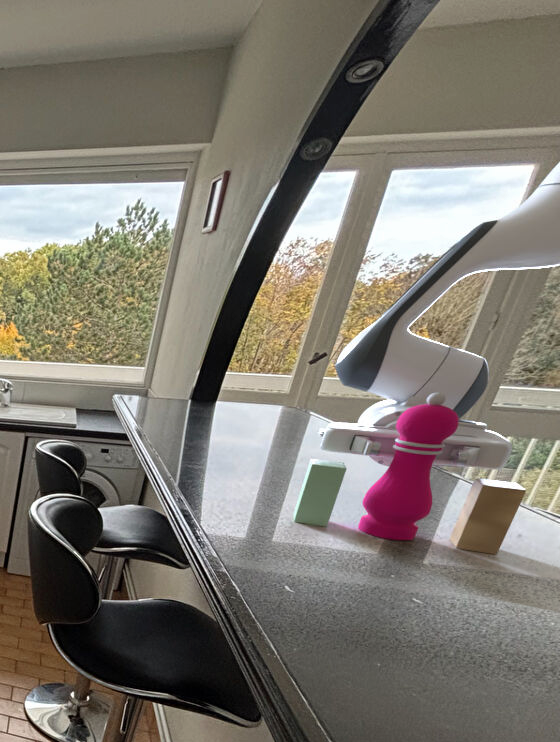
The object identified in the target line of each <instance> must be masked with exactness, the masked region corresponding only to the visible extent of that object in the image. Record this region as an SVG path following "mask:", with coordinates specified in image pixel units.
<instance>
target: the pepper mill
mask: <svg viewBox="0 0 560 742" xmlns="http://www.w3.org/2000/svg"><path fill="white" fill-rule="evenodd" d="M445 400H446V397H445V395H444V394H442V393H433V394H431V395H429V397H428V398H427V403H428V404H422V405H417V406H413V407H411V408H409V409H407V410H406V411H404V412H403V413H402V414H401V416H400V417H399V419H398V421H397V424H396V429H397V431H398V432H399V434H400V438H397V439H395V441H396V443H395V445H393V448H394V449H396V451H395V455H394V458H393V460H392V463H391V465H390V467H388V468H387V469H386V471H385V472H384V473H383V475H382V476H381V477H380V478H378V480H377V481H376V482H374V483H373V484H372V485H371V486H370V487H369V489H368V490H367V491H366V493H365V495H364V497H363V498H362V507H363V508H364V510H365V511H366V513H367V514H364V515H362V516H361V517H360V519H359V523H358V525H357V528H358V530H359V531H360V532H363V533H364V534H367V535H370V536H374V537H377V538H381V539H387V540H391V541H392V540H393V541H411V540H414V539H415V537H416V535H417V533H418V530H419V526H418V525H417V522H418V521H420V520H422V519H425V518H426V517H428V515H430V513H431V510H432V506H433V493H432V487H431V479H430V478H431V470H432V467H433V465H432V464H433V461H434V459H435V457H436V455H438V454H441V453H442V447H444V446H445V444H444V443H442V442H443V440H445V439H446V438H448V437H450V436H451V435H452V434H454V432H455V431H456V430H457V427H458V423H459V420H460V419H458V416H457V414H456V412H454V411H453V410H452V409H450V408H448V407H445V406H442V405H441V404H443V403H444V402H445Z"/></svg>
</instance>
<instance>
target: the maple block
mask: <svg viewBox="0 0 560 742" xmlns="http://www.w3.org/2000/svg"><path fill="white" fill-rule="evenodd" d="M526 493H527V489H526V488H524V487H523V486H521V485H520V484H519V483H517V482H511V481H502V480H494V479H486V478H477V477H475V478H474V480H473V482H472V485H471V487H470V489H469V492H468V494H467V497H466V499H465V500H464V504H463V506H462V508H461V510H460V512H459V515H458V518H457V520H456V522H455V524H454V527H453V529H452V531H451V534H450V537H449V541H450V543H451V544H452V545H453V547H454V548H455V549H460V550H466V551H472V552H478V553H484V554H489V555H495V556H496V555H498V553H499V551H500V548H501V547H502V545H503V543H504V540H505V538H506V536H507V534H508V532H509V529H510V527H511V525H512V522H513V520H514V518H515V516H516V514H517V512H518V510H519V507H520V506H521V504H522V501H523V499H524V497H525V494H526Z"/></svg>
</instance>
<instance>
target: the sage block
mask: <svg viewBox="0 0 560 742" xmlns="http://www.w3.org/2000/svg"><path fill="white" fill-rule="evenodd" d="M346 472H347V466H346V464H345V462H341V461H332V460H323V459H314V458H310V460H309V463H308V466H307V469H306V472H305V476H304V479H303V482H302V486H301V489H300V492H299V494H298V497H297V500H296V505H295V507H294V510H293V514H292V515H293V516H292V517H293V522H294V523H301V524H306V525H312V526H319V527H325V528H327V527H328V524H329V522H330V519H331V516H332V513H333V510H334V507H335V504H336V501H337V499H338V495H339V493H340V489H341V486H342V484H343V482H344V481H343V480H344V478H345V476H346V475H345V474H346Z"/></svg>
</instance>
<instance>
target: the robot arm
mask: <svg viewBox="0 0 560 742" xmlns="http://www.w3.org/2000/svg"><path fill="white" fill-rule="evenodd" d="M556 266H557V267H558V266H560V161H559V162H558V163H557V164H556V165H555V166H554V167H553V169H552V170H551V171H550V172H549V173H548V174H547V175H546V177H545V178H544V179H543V180H542V182H541V183H540V184H539V185H538V186H537V188H535V190H534V191H533V193H532V194H531V195H530V196H529V197H528V198H527V199H526V200H525V201H523V203H521V204H520V205H519V206H518V207H516V208H515V209H514V210H512V211H510V213H507V214H506V215H504V216H502V217H500V218H498V219H496V220H495V219H494V220H489V221H488V220H487V221H483V222H482V223H480V224H479V225H477V226H475V227H474V228H473V229H471V230H470V231H468V232H467V233H466V234H464V235H463V236H462V237H461V238H460V239H458V241H456V242H455V243H454V244H453V245H452V246H451V247H450V248H449V249H448V250H447V251H446V252H444V254H443V255H442V256H440V257H439V258H438V259H437V260H436V261H435V262H434V263H432V265H431V266H430V267H429V268H428V269H426V271H424V273H423V274H421V276H420V277H419V278H417V279H416V281H415V282H414V283H412V285H410V286H409V288H408V289H407V290H406V291H405V292H403V294H401V295H400V296H399V297H398V298H397V299H396V300H395V301H394V302H393V303H392V304H391V306H389V307H388V308H387V309H386V310H385V311H384V312H383V313H382V314H381V315H380V316H379V317H378V318H377V319H376V320H375V321H374V322H373V323H372V324H370V326H368V327H367V328H365V329H364V330H362V331H361V332H360V333H359V334H357V336H355V337H354V338H353V339H351V340H350V342H349V343H348V344H347V345H346V346H344V348H343V349H342V351H341V352H340V354H339V356H338V357H337V360H336V362H335V364H334V369H335V371H336V375H337V377H338V380H339V381H340V382H341V384H342V385H343V386H344V387H348V388H351V389H355V390H358V391H362V392H368V393H371V394H374V395H376V396H379V397H382V398H384V399H386V400H382V401H378V402H376V403H374V404H372V405H371V406H369V407H367V408H366V409H365V410H364V411H363V412H362V414H361V415H360V416H359V418H358V420H357V423H349V422H331V423H329V424H327V426H325V428H319V429H318V431H317V435H318V436H319V437H322V439H321V442H320V445H319V449H320V450H322V451H325V452H330V453H331V452H332V453H340V454H349V455H356V456H357V455H358V456H366V457H369V458H370V459H371V460H372V461H374V462H375V463H377V464H379V465H381V466H385V467H388V468H389V467H390V465H391V463H392V460H393V458H394V455H395V451H396V449H394V448H393V445H395V443H396V441H395V439H397V438H400V434H399V432H398V431H397V429H396V424H397V421H398V419H399V417H400V416H401V414H402V413H403V412H404V411H406V410H407V409H409V408H411V407H413V406H417V405H422V404H428V403H427V398H428V397H429V395H431V394H433V393H442V394H444V395H445V397H446V400H445V402H444V403H443V404H441V405H442V406H445V407H448V408H450V409H452V410H453V411H454V412H456V414H457V416H458V419H459V423H458V427H457V430H456V431H455V432H454V434H452V435H451V436H450V437H448V438H446V439H445V440H443V442H442V443H444V444H445V446H444V447H442V453H441V454H438V455H436V457H435V459H434V461H433V464H432V466H436V467H437V466H438V467H455V468H459V467H460V468H478V469H485V470H493V471H494V470H496V471H498V470H502V469H504V468H505V467H506V465H507V463H508V461H509V459H510V457H511V454H512V451H513V448H514V444H513V442H511V441H510V440H509V439H507V438H506V437H504V436H502V435H501V434H499V433H497V432H495V431H492V430H487V429H488V425H487V424H486V423H483V422H476V421H473V420H467V419H461V418H462V417H463V416H465V415H466V414H467V413H468V412H469V411H470V410H471V409H472V408H473V407H474V406H475V404H476V403H477V402H478V401H479V400H480V399H481V397H482V396H483V394H484V393H485V391H486V389H487V387H488V384H489V379H490V378H489V377H490V374H489V373H490V372H489V365H488V361H487V360H486V358H485V357H484V356H479V355H477V354H475V353H472V352H469V351H466V350H463V349H460V348H458V347H453V346H451V345H446V344H443V343H440V342H438V341H434V340H432V339H429V338H425V337H422V336H419V335H416V334H415V333H412V332H411V331H410V327H411V325H412V324H413V323H414V322H415V321H417V319H418V318H420V317H421V316H422V315H423V314H424V313H425V312H426V311H427V310H428V309H430V307H431V306H432V305H433V304H435V303H436V302H437V300H439V299H440V298H441V297H442V296H443V295H444V294H445V293H446V292H447V291H448V290H450V289H451V288H452V286H454V285H455V284H456V283H457V282H459V281H460V280H462V279H464V278H465V277H467V276H470V275H473V274H476V273H481V272H488V271H499V270H500V271H501V270H528V269H542V268H550V267H556Z"/></svg>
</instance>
